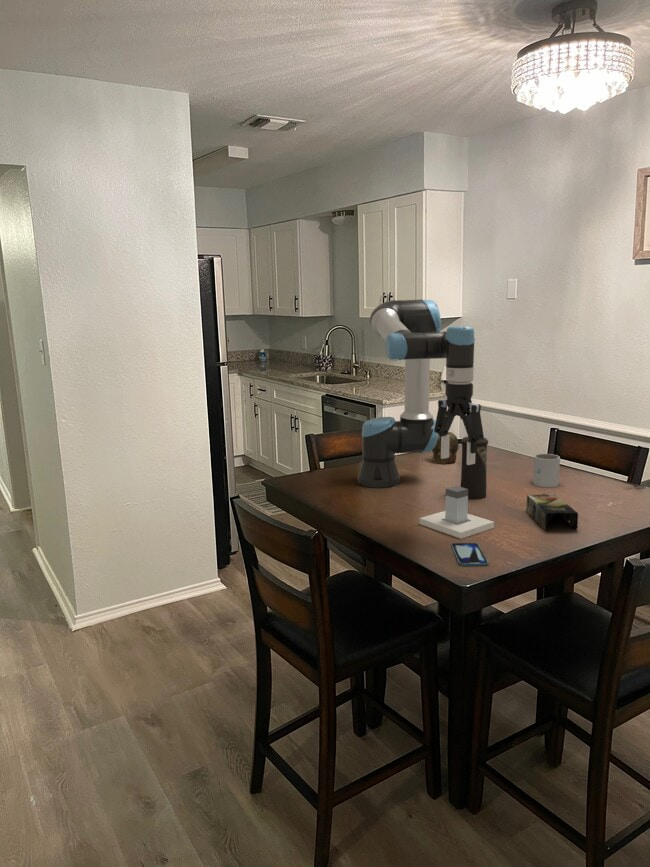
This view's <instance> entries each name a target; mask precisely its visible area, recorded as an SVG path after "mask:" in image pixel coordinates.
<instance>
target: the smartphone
mask: <svg viewBox="0 0 650 867" xmlns="http://www.w3.org/2000/svg"><path fill="white" fill-rule="evenodd" d="M450 546H451V550H452V551H453V555H454V556H455V559H456V560H457V563H458V566H461V567H486V566H487V567H488V566H489V561H488V559H487V557H486V555H485V554H484V552H483V549H482V548H481V547H480V544H479V543H478V542H453V543H451V544H450Z"/></svg>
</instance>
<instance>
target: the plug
mask: <svg viewBox="0 0 650 867" xmlns="http://www.w3.org/2000/svg"><path fill="white" fill-rule="evenodd" d="M444 503H445V504H444V505H445V506H444V508H445V509H444V511H445V521H447V522H450V523H453V524H456V525H459V524H462V523H465V522H467V518H468V514H469V513H468V512H469V511H468V510H469V509H468V507H469V498H468V489H466V488H462V487H461V486H459V485H453V486H450V487H447V488H445V502H444Z"/></svg>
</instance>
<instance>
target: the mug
mask: <svg viewBox="0 0 650 867" xmlns="http://www.w3.org/2000/svg"><path fill="white" fill-rule="evenodd" d="M560 463H561V457H560V456H559V455H557V454H553V453H538V454H535V455H533V474H532V476H533V477H532V484H533V485H534V486H536V487H539V488H540V487H541V488H556V487H558V486H559V484H560V483H559V482H560V466H561V464H560Z"/></svg>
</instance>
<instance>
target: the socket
mask: <svg viewBox="0 0 650 867" xmlns="http://www.w3.org/2000/svg"><path fill="white" fill-rule="evenodd" d="M419 525H421V526H424V527H427V528H429V529H433V530H435V531H437V532H441V533H444V534H447V535H449V536H451V537H455V538H457V539H460V540H462V539H464V538H465V539H466V538H468V537H471V536H473V535H476V534H480V533H482V532H486V531H489V530H491V529H494V528H495V521H493V520H489V519H487V518H483V517H481V516H480V517H479V516H477V515H473V514H470V513H468V518H467V522H465V523H462V524H459V525H456V524H453V523H450V522H447V521H445V510H443V511H440V512H436V513H432V514H429V515H426V516H423V517H420V518H419Z"/></svg>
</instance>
